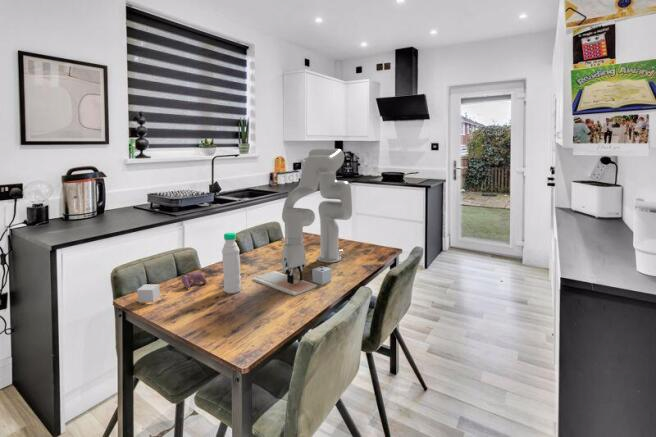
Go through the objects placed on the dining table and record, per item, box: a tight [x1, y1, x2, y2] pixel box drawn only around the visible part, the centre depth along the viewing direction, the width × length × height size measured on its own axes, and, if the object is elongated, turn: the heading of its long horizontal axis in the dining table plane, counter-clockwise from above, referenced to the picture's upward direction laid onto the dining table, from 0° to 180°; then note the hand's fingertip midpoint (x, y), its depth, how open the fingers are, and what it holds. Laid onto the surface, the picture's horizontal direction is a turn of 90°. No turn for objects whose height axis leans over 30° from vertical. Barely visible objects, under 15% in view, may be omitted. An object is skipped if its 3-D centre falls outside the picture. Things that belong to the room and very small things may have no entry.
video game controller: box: [181, 271, 208, 289], centre depth 170 cm, size 10×5×7 cm, turn 142°
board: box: [252, 270, 318, 297], centre depth 172 cm, size 13×28×1 cm, turn 48°
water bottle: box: [221, 232, 242, 294], centre depth 162 cm, size 7×7×25 cm
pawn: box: [292, 267, 300, 284], centre depth 167 cm, size 4×4×7 cm
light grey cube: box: [136, 283, 161, 302], centre depth 153 cm, size 6×6×6 cm
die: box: [311, 265, 332, 286], centre depth 174 cm, size 6×6×6 cm
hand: (294, 281), depth 168 cm, fingers closed on pawn, 4 cm apart
